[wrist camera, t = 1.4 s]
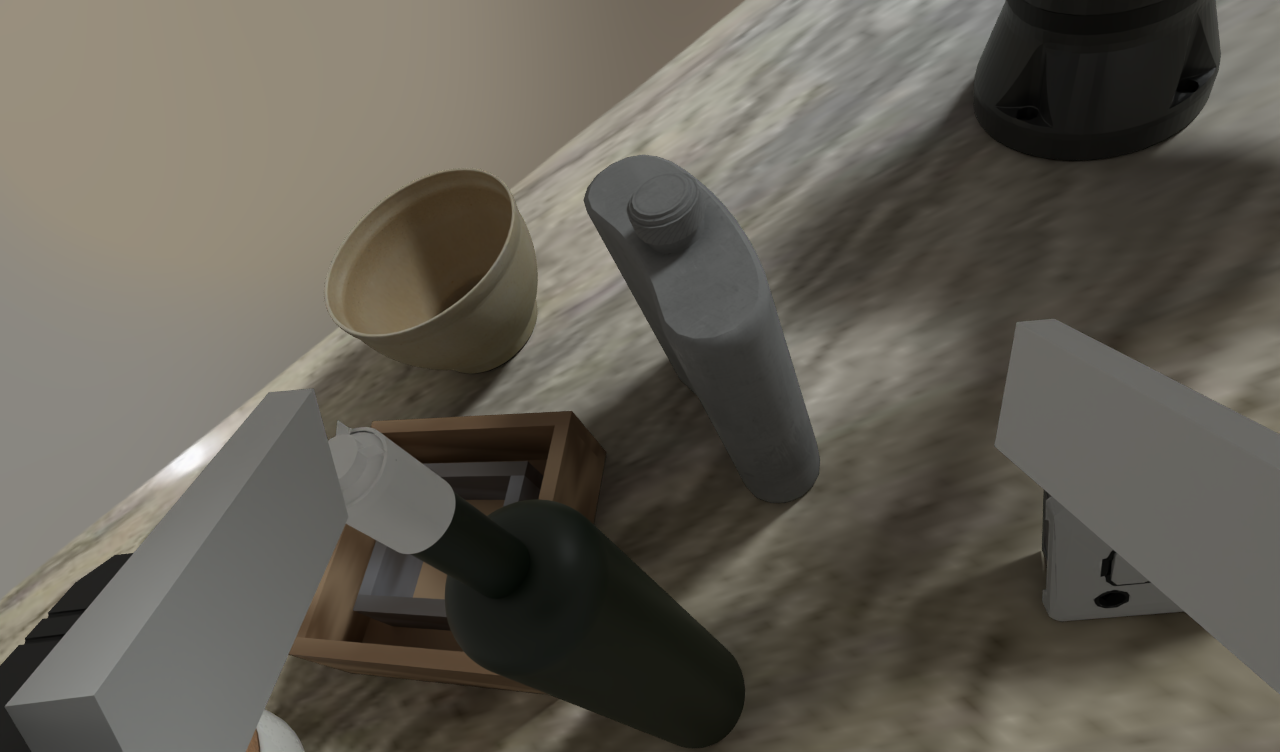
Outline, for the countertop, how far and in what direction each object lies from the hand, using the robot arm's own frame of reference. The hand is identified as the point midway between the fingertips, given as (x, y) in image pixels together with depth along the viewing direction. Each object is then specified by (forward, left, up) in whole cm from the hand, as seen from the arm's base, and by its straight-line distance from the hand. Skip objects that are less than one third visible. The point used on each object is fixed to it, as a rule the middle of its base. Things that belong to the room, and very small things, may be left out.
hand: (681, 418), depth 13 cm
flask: (-17, -6, -30) cm, 35 cm away
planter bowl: (-26, -29, -30) cm, 50 cm away
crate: (-6, -24, -30) cm, 39 cm away
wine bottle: (+1, -8, -30) cm, 31 cm away
